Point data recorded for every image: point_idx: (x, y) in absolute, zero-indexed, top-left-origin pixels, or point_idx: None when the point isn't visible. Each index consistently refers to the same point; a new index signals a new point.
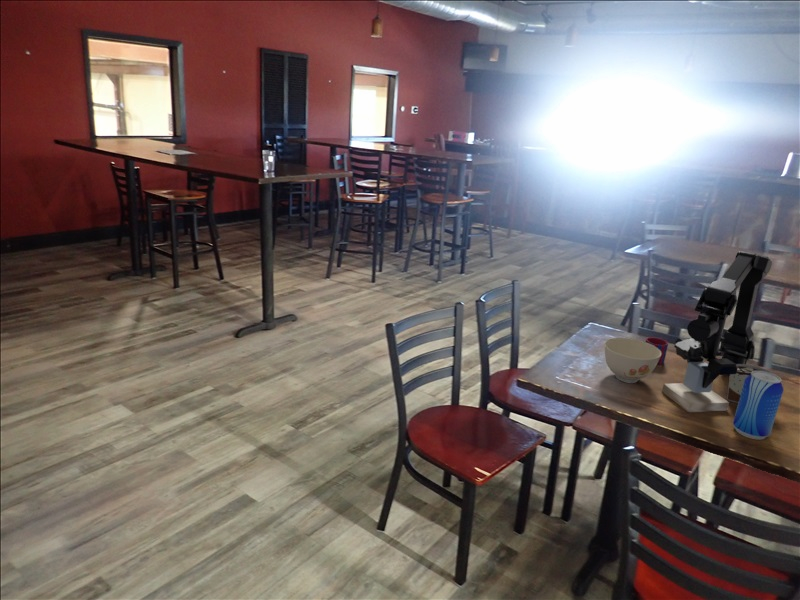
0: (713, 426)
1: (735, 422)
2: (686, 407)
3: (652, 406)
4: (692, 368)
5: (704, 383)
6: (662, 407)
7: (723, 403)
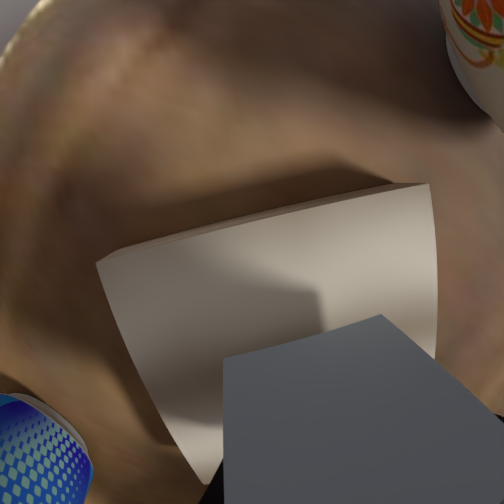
0: (19, 320)
1: (6, 406)
2: (136, 245)
3: (170, 38)
4: (417, 498)
5: (211, 480)
6: (161, 92)
7: (191, 463)
